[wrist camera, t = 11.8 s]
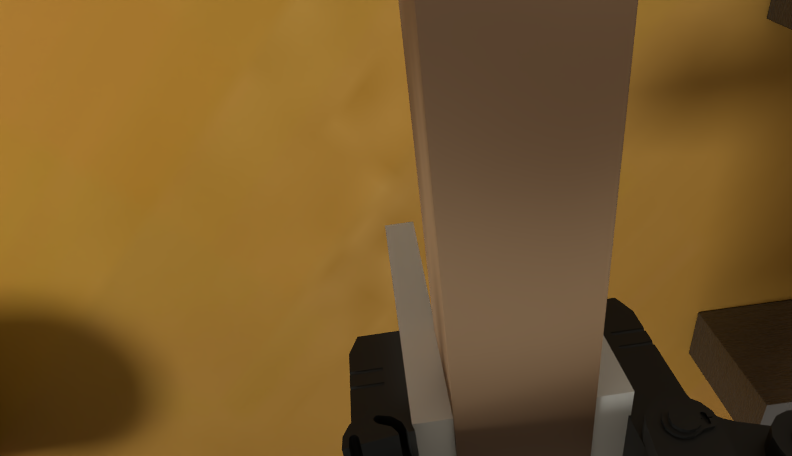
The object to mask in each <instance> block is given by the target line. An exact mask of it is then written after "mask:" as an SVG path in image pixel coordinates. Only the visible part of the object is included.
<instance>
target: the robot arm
mask: <svg viewBox="0 0 792 456" xmlns="http://www.w3.org/2000/svg"><path fill="white" fill-rule="evenodd" d="M385 229H386V236H387V243H388V251H389V258H390V266H391V273H392V280H393V288H394V295H395V303H396V310H397V317H398V325H399V331H395V332H388V333H381V334H374V335H367V336H361V337H357V339H356V341H355V343H354V345H353V347H352V349H351V352H350V354H349V363H350V389H351V391H350V396H351V424H350V425H349V426H348V428H347V430H346V432H345V434H344V436H343V441H342V451H343V455H344V456H457V455H456V445H455V434H454V424H453V416H452V411H451V406H450V402H449V397H448V392H447V387H446V382H445V378H444V373H443V368H442V363H441V359H440V354H439V349H438V344H437V339H436V335H435V330H434V324H433V315H432V310H431V305H430V300H429V295H428V291H427V286H426V281H425V276H424V272H423V267H422V262H421V257H420V253H419V248H418V243H417V238H416V234H415V229H414V224H413V222H408V223H401V224H394V225H387V226H385ZM591 456H792V410H786V411H785V412H783V413H781V414H779V415H777V416H776V417H775V419H774V421H773V422H772V424H771V426H769V425H761V424H753V423H745V422H737V421H732V420H727V419H723V418H720V417H717V416H716V415H715V414H714V412H713V411H712V410H710V409H709V408H708V407H706V406H705V405H703V404H702V403H700V402H698V401H696V400H693V399H690V398H689V397H688V395H687V394H686V393H685V391H684V390H683V388H682V387H681V385H680V384H679V382H678V381H677V379H676V377H675V376H674V374H673V373H672V371H671V370H670V368H669V367H668V365H667V363H666V362H665V360H664V359H663V357H662V356H661V354H660V352H659V351H658V349H657V348H656V346H655V345H653V344H652V340H651V338H650V337H649V335H648V334H647V332H646V331H644V328H643V326H642V324H641V323H640V321H639V320H638V318H637V317H636V315H635V314H634V312H633V311H632V310H631V309H629V308H628V307H627V306H625V305H624V304H623V303H621V302H620V301H619V300H617V299H616V298H610V299H607V304H606V314H605V323H604V333H603V343H602V352H601V362H600V371H599V381H598V391H597V400H596V410H595V420H594V429H593V439H592V448H591Z"/></svg>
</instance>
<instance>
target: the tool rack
mask: <svg viewBox="0 0 792 456" xmlns="http://www.w3.org/2000/svg"><path fill="white" fill-rule="evenodd" d="M767 19H769V20H771V21H773V22H776V23H778V24H780V25H782V26H784V27H787V28H789V29H791V30H792V0H771V3H770V7H769V11H768V16H767ZM689 354H690V355H691V357H692V358H693V360H694V361H695V363H696V364H697V366H698V367H699V369H700V370H701V372H702V373H703V375H704V376H705V378H706V379H707V381H708V382H709V384H710V385H711V387H712V388H713V390H714V392H715V393H716V395H717V396H718V398H719V399H720V401H721V402H722V404H723V405H724V407H725V408H726V410H727V411H728V413H729V414H730V416H731V417H732V419H733V420H734V421H737V422H745V423H753V424H761V425H769V426H771V424H772V422H773V421H774V419H775V417H776V416H777V415H779V414H781V413H783V412H785V411H786V410H792V300H786V301H779V302H771V303H764V304H757V305H750V306H743V307H735V308H728V309H721V310H714V311H707V312H699V313H698V317H697V321H696V325H695V330H694V334H693V338H692V343H691V347H690V351H689Z"/></svg>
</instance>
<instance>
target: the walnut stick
mask: <svg viewBox="0 0 792 456" xmlns="http://www.w3.org/2000/svg"><path fill="white" fill-rule="evenodd" d="M637 6H638V0H399V9H400V18H401V27H402V37H403V46H404V55H405V64H406V74H407V83H408V92H409V101H410V111H411V120H412V129H413V139H414V148H415V157H416V166H417V176H418V185H419V194H420V203H421V213H422V222H423V231H424V240H425V250H426V259H427V268H428V277H429V287H430V296H431V305H432V315H433V324H434V330H435V335H436V339H437V344H438V349H439V354H440V359H441V363H442V368H443V373H444V378H445V382H446V387H447V392H448V397H449V402H450V406H451V411H452V416H453V424H454V434H455V445H456V455H457V456H591V448H592V439H593V429H594V420H595V410H596V400H597V391H598V381H599V371H600V362H601V352H602V343H603V333H604V323H605V314H606V304H607V294H608V285H609V275H610V266H611V256H612V246H613V237H614V227H615V217H616V208H617V198H618V189H619V179H620V169H621V160H622V150H623V140H624V131H625V121H626V112H627V102H628V92H629V83H630V73H631V63H632V54H633V44H634V35H635V25H636V15H637Z"/></svg>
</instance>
